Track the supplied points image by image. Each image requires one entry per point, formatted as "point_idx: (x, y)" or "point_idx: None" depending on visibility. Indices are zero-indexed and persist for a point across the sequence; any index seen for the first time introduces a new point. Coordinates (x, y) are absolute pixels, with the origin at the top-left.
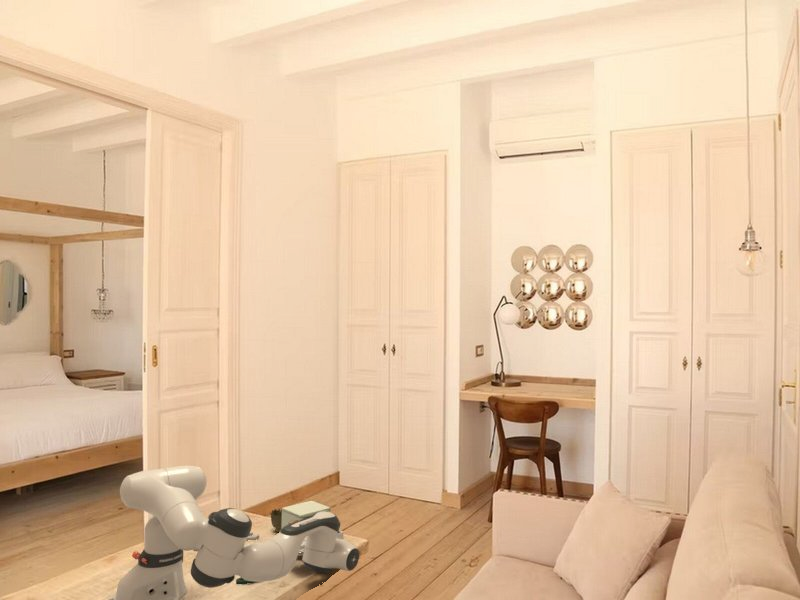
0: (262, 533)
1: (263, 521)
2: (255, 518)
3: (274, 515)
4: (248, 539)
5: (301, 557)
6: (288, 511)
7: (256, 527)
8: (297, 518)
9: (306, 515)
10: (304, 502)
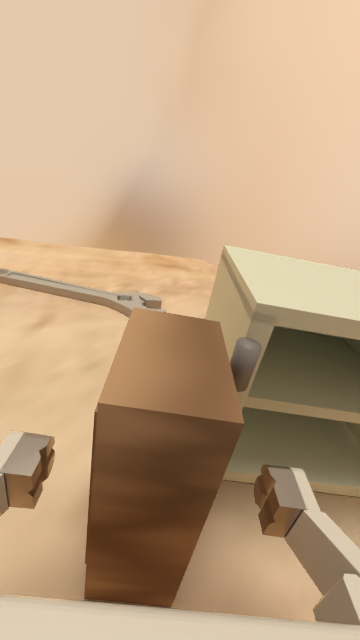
0: (188, 314)
1: None
2: None
3: None
4: (126, 311)
5: (121, 596)
6: (231, 263)
7: (198, 296)
8: (241, 314)
9: (309, 322)
10: (341, 267)
